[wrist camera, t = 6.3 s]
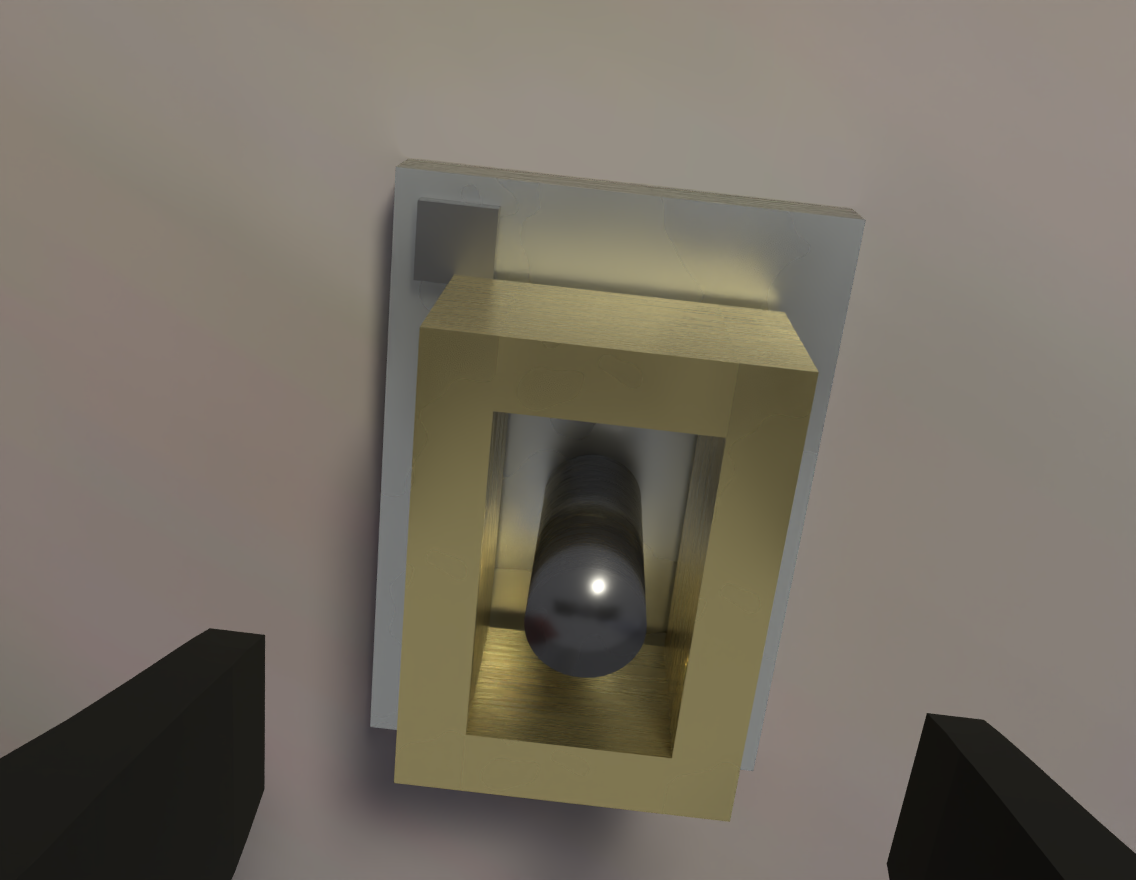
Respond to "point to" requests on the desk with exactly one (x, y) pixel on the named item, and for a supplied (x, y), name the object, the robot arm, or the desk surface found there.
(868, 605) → the desk surface
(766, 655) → the keeper plate
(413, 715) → the link
